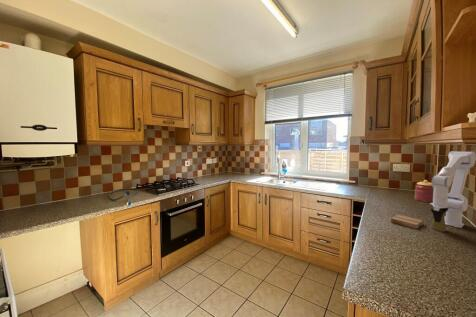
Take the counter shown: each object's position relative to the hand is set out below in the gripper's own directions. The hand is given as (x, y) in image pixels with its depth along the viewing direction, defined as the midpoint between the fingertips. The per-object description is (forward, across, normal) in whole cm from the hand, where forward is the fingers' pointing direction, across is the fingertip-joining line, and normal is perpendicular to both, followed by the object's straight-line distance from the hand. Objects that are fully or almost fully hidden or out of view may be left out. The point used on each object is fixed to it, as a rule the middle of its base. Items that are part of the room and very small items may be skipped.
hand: (438, 220), depth 112 cm
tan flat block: (+5, +4, -13) cm, 14 cm away
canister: (+5, -70, -22) cm, 74 cm away
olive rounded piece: (+5, 0, 0) cm, 5 cm away
